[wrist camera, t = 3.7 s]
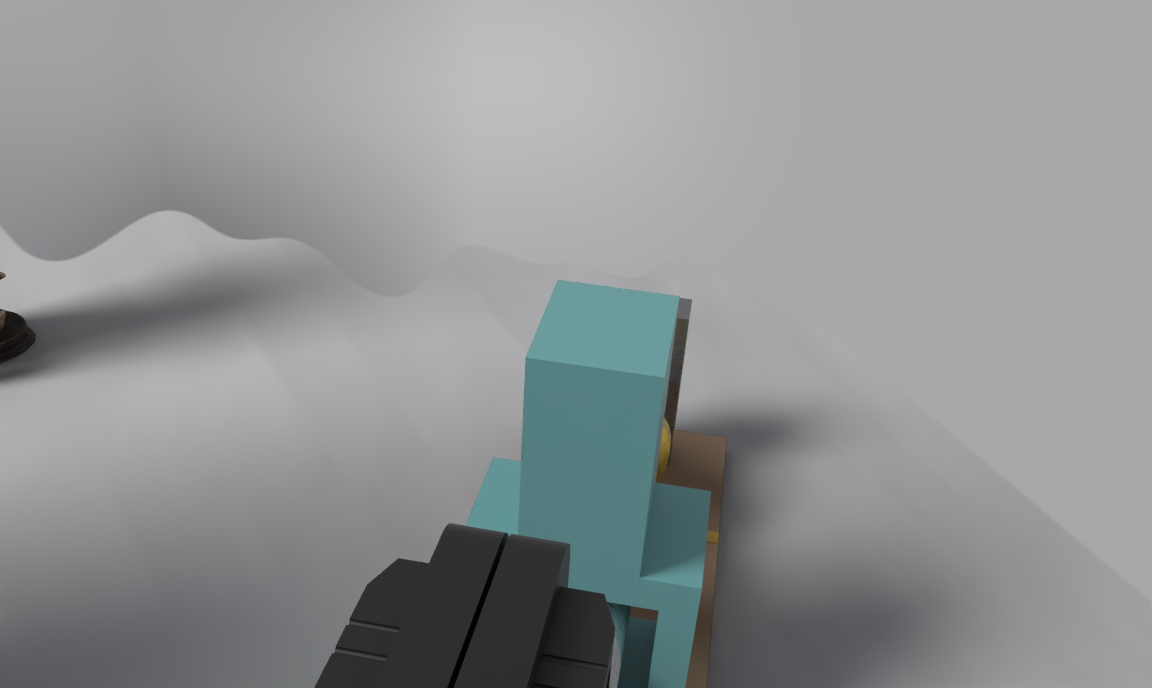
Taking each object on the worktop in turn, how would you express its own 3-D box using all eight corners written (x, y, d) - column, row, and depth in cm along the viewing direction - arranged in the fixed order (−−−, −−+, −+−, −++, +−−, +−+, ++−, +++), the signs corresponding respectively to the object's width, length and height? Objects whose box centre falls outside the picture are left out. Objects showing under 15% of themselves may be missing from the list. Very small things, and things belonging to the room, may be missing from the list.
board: (688, 896, 27) (691, 882, 27) (392, 836, 28) (391, 822, 28) (724, 449, 44) (726, 436, 44) (539, 421, 45) (540, 408, 45)
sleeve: (673, 754, 30) (736, 387, 23) (456, 713, 30) (457, 347, 24) (684, 649, 33) (741, 304, 27) (488, 615, 34) (498, 271, 27)
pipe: (618, 836, 28) (643, 657, 24) (473, 807, 28) (476, 628, 25) (677, 444, 43) (697, 300, 40) (582, 429, 44) (593, 286, 40)
